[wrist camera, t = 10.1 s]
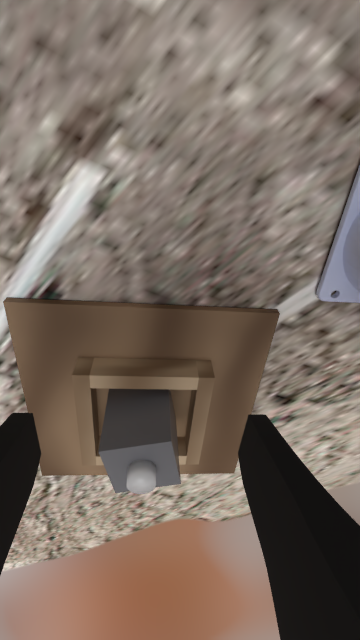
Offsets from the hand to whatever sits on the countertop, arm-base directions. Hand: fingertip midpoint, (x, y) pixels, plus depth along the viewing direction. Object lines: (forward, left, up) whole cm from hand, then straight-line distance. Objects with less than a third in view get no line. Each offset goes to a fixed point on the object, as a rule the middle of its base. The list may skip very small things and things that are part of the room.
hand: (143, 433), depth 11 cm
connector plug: (0, +8, -9) cm, 12 cm away
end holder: (0, +8, -9) cm, 12 cm away
